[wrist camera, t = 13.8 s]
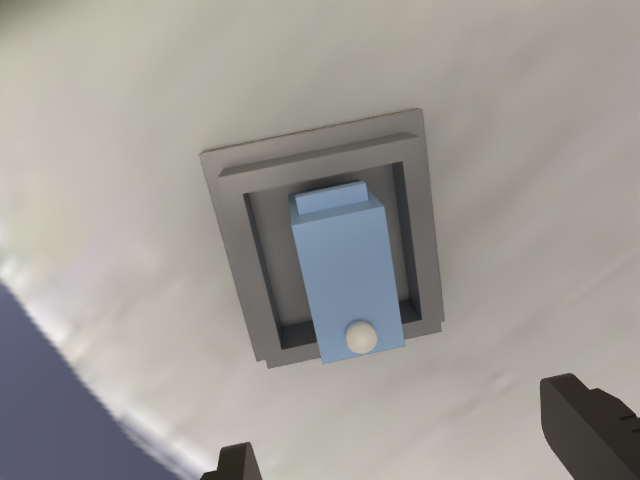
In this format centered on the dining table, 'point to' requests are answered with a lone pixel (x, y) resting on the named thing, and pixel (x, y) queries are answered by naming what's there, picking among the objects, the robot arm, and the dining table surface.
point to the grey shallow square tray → (277, 235)
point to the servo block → (347, 269)
